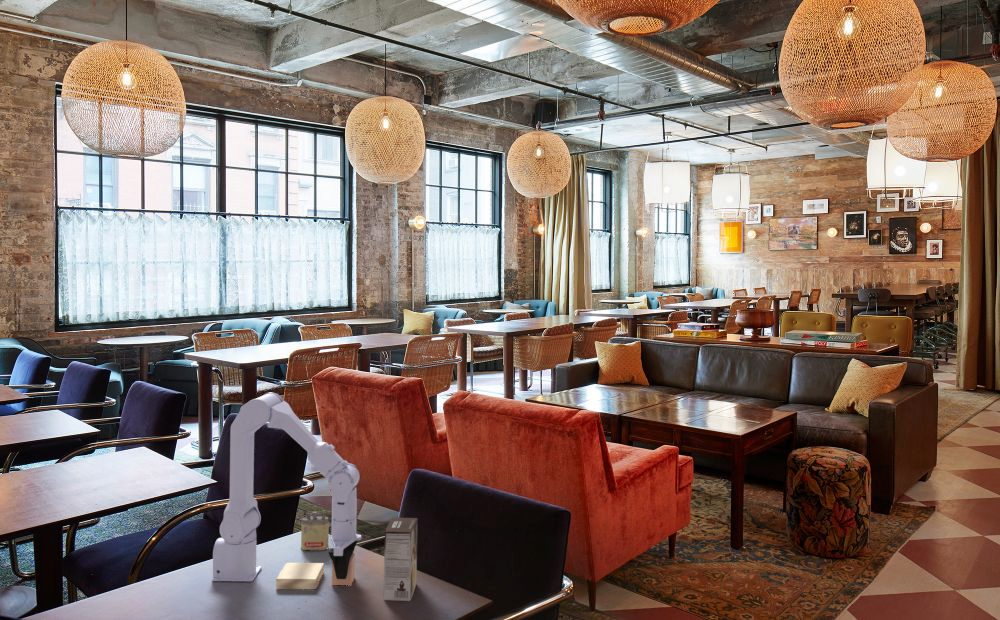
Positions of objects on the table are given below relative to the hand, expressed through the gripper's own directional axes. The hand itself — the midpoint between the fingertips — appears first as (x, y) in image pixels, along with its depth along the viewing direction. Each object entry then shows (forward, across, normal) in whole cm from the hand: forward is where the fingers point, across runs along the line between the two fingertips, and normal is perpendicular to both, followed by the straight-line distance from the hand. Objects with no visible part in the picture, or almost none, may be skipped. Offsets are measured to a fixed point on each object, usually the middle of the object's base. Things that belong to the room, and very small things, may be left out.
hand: (343, 573), depth 174 cm
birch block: (+2, 0, +10) cm, 10 cm away
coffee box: (+2, -5, -14) cm, 15 cm away
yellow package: (+2, +20, +11) cm, 23 cm away
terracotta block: (+2, 0, 0) cm, 2 cm away
